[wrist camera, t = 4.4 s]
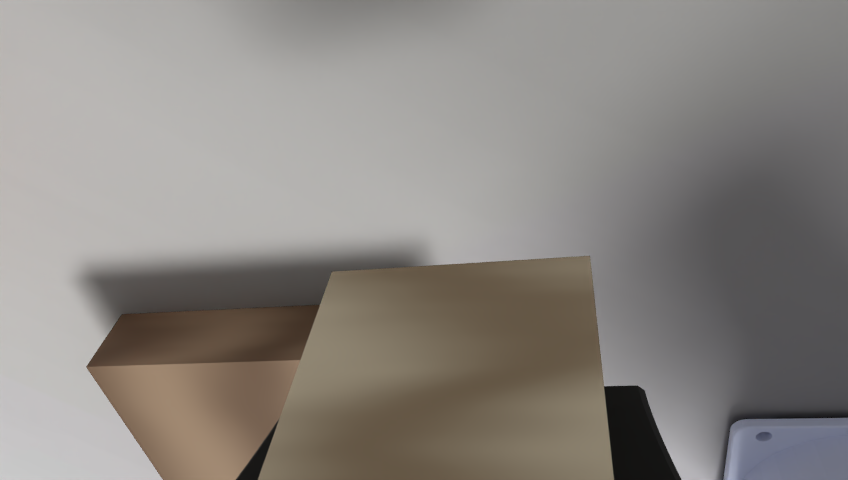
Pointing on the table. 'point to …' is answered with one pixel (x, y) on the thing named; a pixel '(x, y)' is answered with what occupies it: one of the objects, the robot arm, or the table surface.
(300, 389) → the maple cube
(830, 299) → the table surface
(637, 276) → the table surface
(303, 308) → the walnut block
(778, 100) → the table surface
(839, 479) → the robot arm
